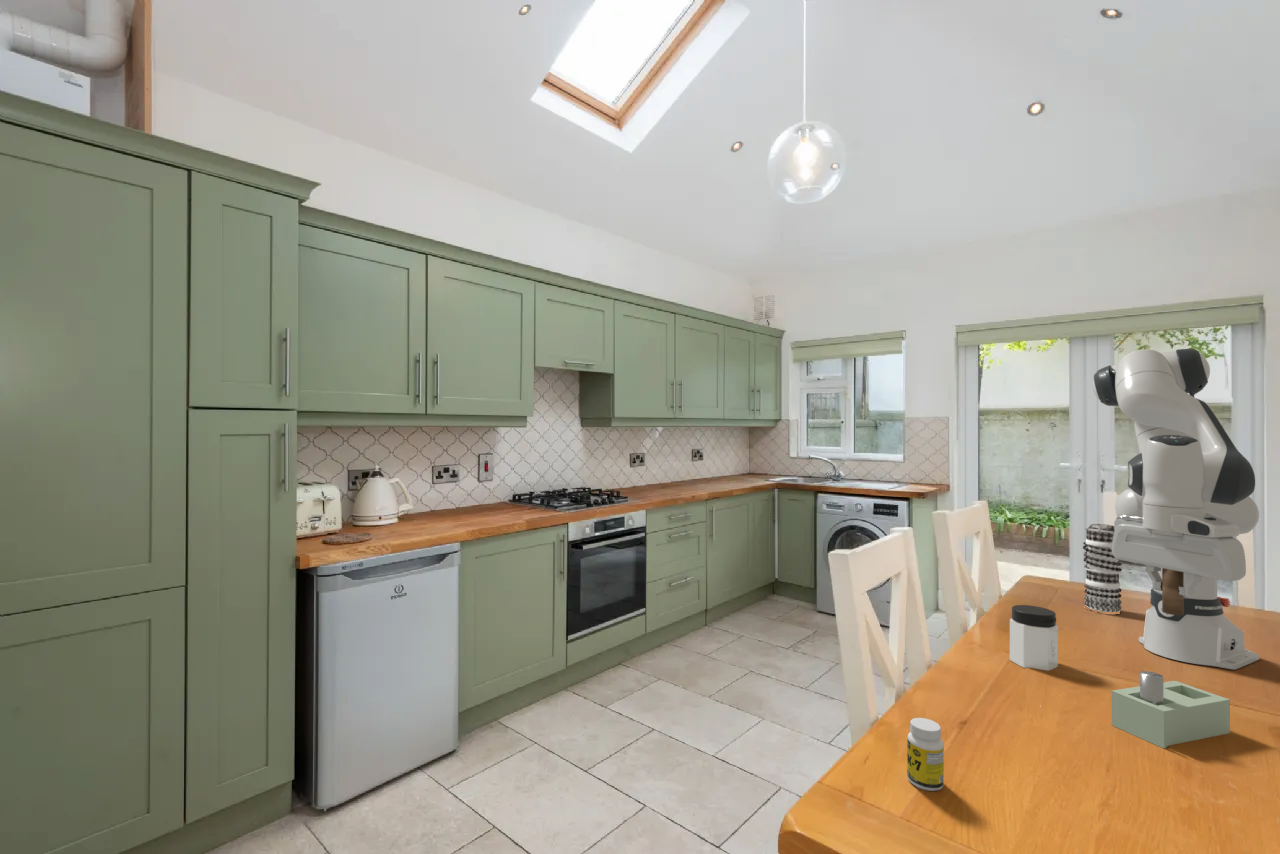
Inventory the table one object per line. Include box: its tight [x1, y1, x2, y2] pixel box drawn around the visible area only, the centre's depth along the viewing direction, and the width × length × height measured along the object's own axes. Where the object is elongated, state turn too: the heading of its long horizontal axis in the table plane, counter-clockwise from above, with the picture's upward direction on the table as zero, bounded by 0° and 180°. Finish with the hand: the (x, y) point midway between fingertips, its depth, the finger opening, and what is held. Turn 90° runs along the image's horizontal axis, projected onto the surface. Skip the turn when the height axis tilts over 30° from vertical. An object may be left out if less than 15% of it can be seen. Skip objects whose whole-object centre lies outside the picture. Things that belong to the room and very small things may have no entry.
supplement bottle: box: [906, 717, 945, 792], centre depth 85 cm, size 5×5×8 cm
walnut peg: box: [1162, 568, 1184, 615], centre depth 112 cm, size 3×3×10 cm
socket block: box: [1111, 680, 1231, 749], centre depth 101 cm, size 16×8×6 cm, turn 107°
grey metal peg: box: [1139, 670, 1165, 706], centre depth 100 cm, size 3×3×10 cm
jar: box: [1009, 604, 1059, 672], centre depth 130 cm, size 9×8×12 cm
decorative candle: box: [1082, 523, 1123, 612], centre depth 172 cm, size 9×9×25 cm
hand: (1173, 593), depth 112 cm, fingers closed on walnut peg, 3 cm apart
